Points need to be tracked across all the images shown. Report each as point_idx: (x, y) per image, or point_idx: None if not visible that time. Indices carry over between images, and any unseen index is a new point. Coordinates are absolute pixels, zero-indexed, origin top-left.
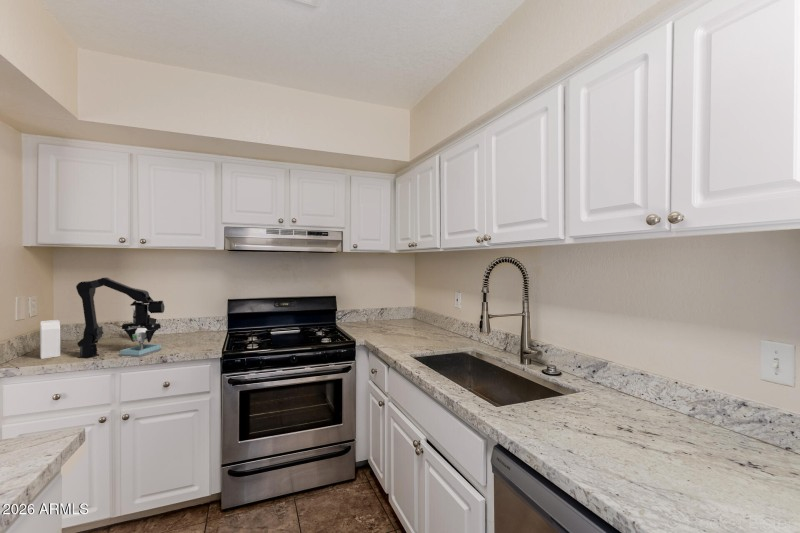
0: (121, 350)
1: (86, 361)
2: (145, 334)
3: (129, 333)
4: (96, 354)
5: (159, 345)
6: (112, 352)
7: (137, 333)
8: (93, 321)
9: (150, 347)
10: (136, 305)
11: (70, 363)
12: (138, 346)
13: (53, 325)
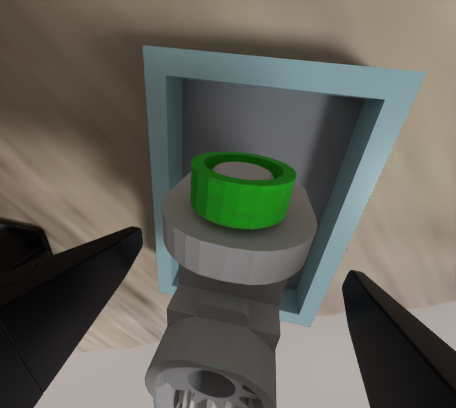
0: (169, 294)
1: (111, 318)
2: (279, 335)
3: (44, 390)
4: (47, 254)
5: (406, 108)
6: (37, 166)
7: (162, 404)
8: None
9: (342, 228)
10: None
11: (86, 332)
12: (171, 153)
13: None
